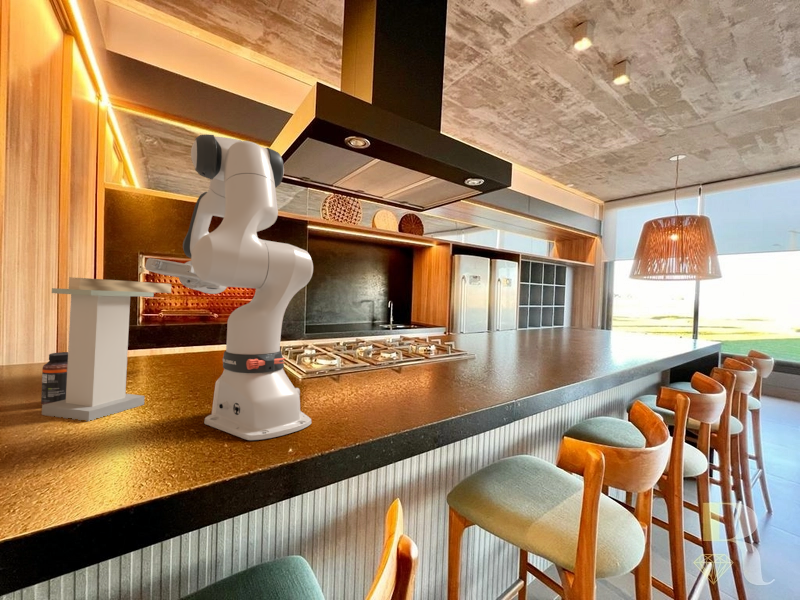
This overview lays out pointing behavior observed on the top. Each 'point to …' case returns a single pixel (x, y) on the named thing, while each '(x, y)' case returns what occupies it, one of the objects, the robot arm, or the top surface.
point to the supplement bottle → (54, 378)
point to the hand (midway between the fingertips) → (170, 265)
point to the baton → (117, 285)
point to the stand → (96, 355)
